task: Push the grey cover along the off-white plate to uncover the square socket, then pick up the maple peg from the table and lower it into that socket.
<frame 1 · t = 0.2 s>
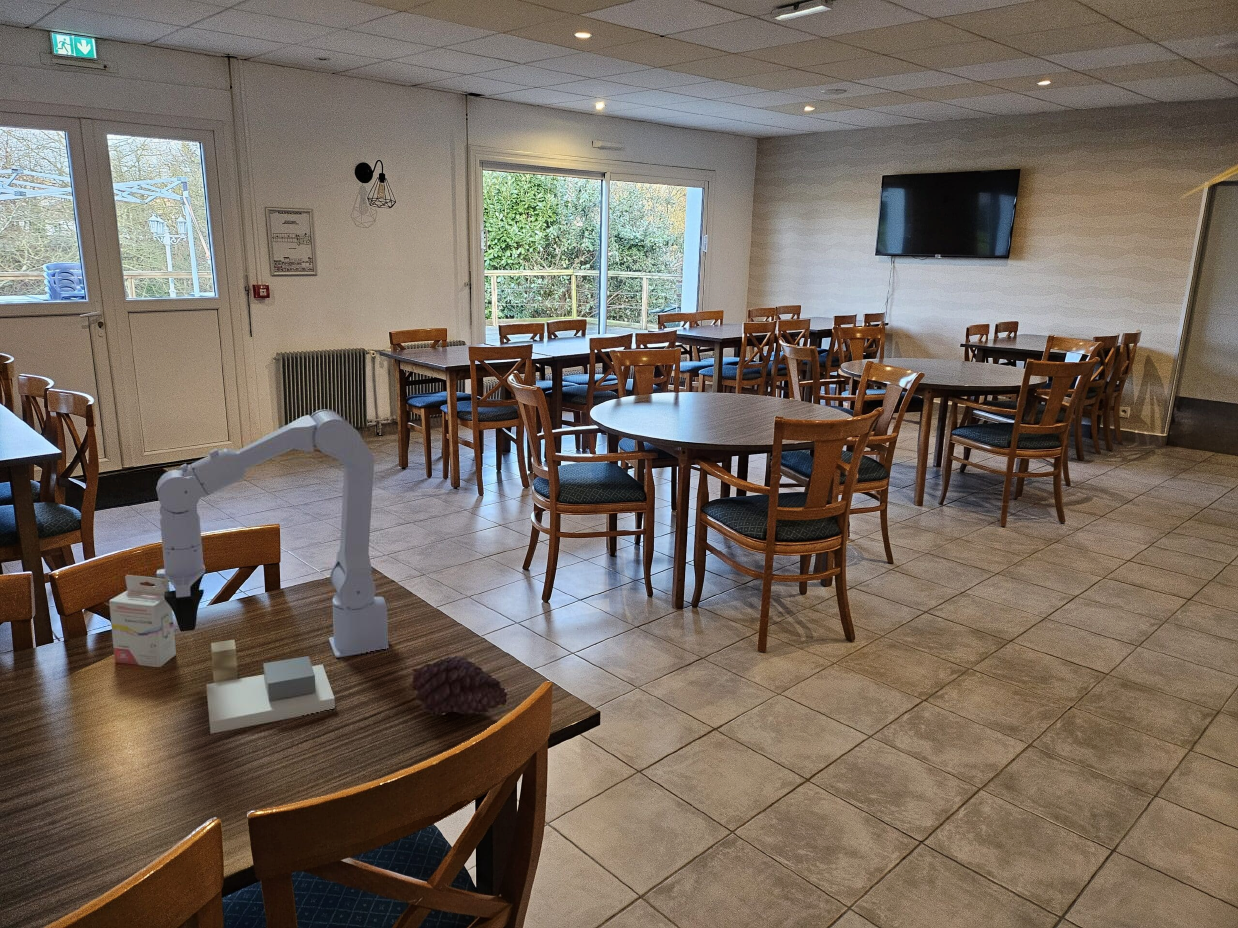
hand: (188, 620, 140), 10 cm above the table, tool pointing down, fingers open, 7 cm apart
pine cone: (454, 716, 135), on the table
socket plate: (270, 702, 136), on the table
maple peg: (225, 678, 142), on the table
ink cartridge box: (146, 660, 147), on the table
grey cover: (289, 677, 136), point 4 cm above the table, slide at 0.0 cm
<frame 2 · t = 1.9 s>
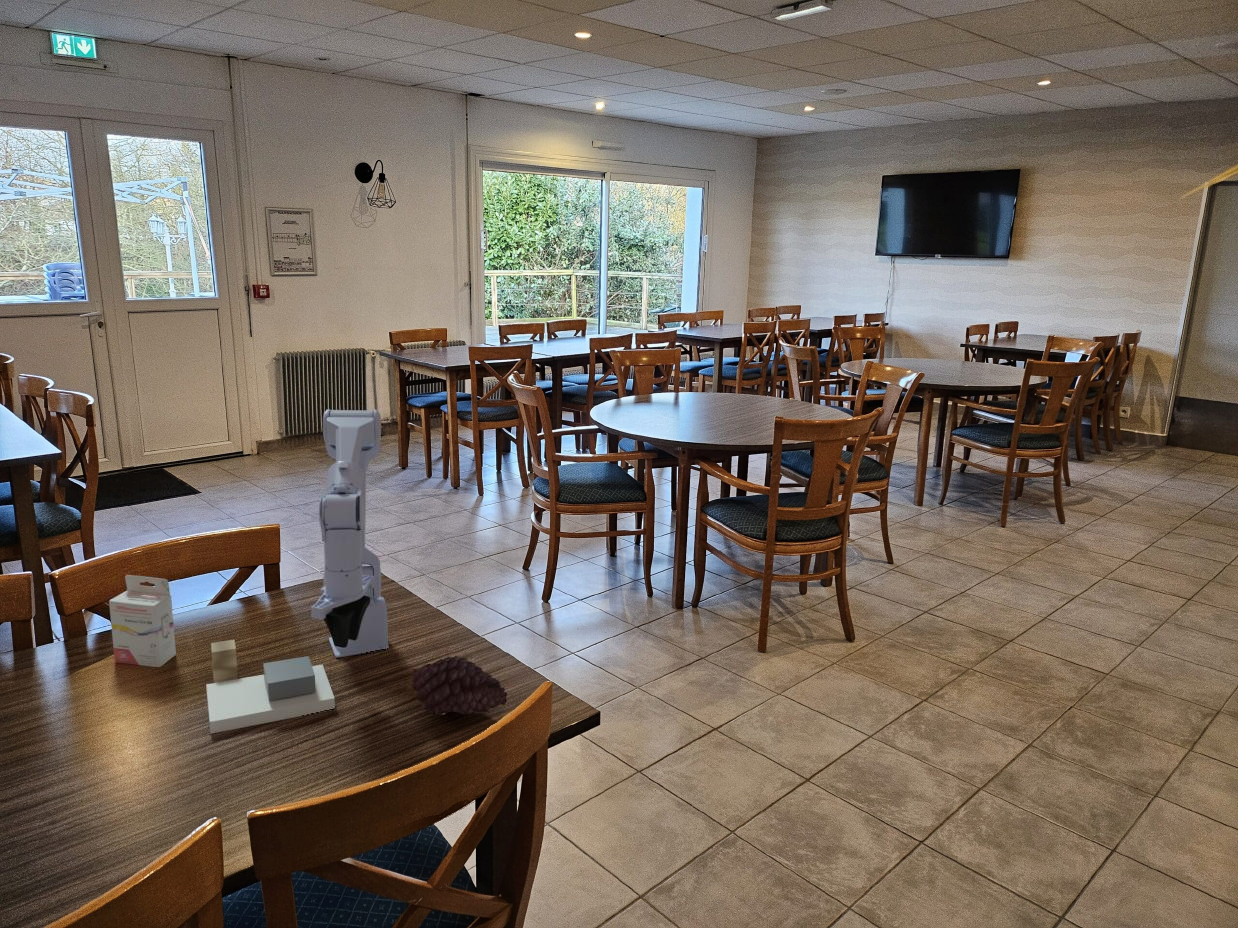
hand: (345, 642, 139), 8 cm above the table, tool pointing down, fingers closed
nothing on the table moved.
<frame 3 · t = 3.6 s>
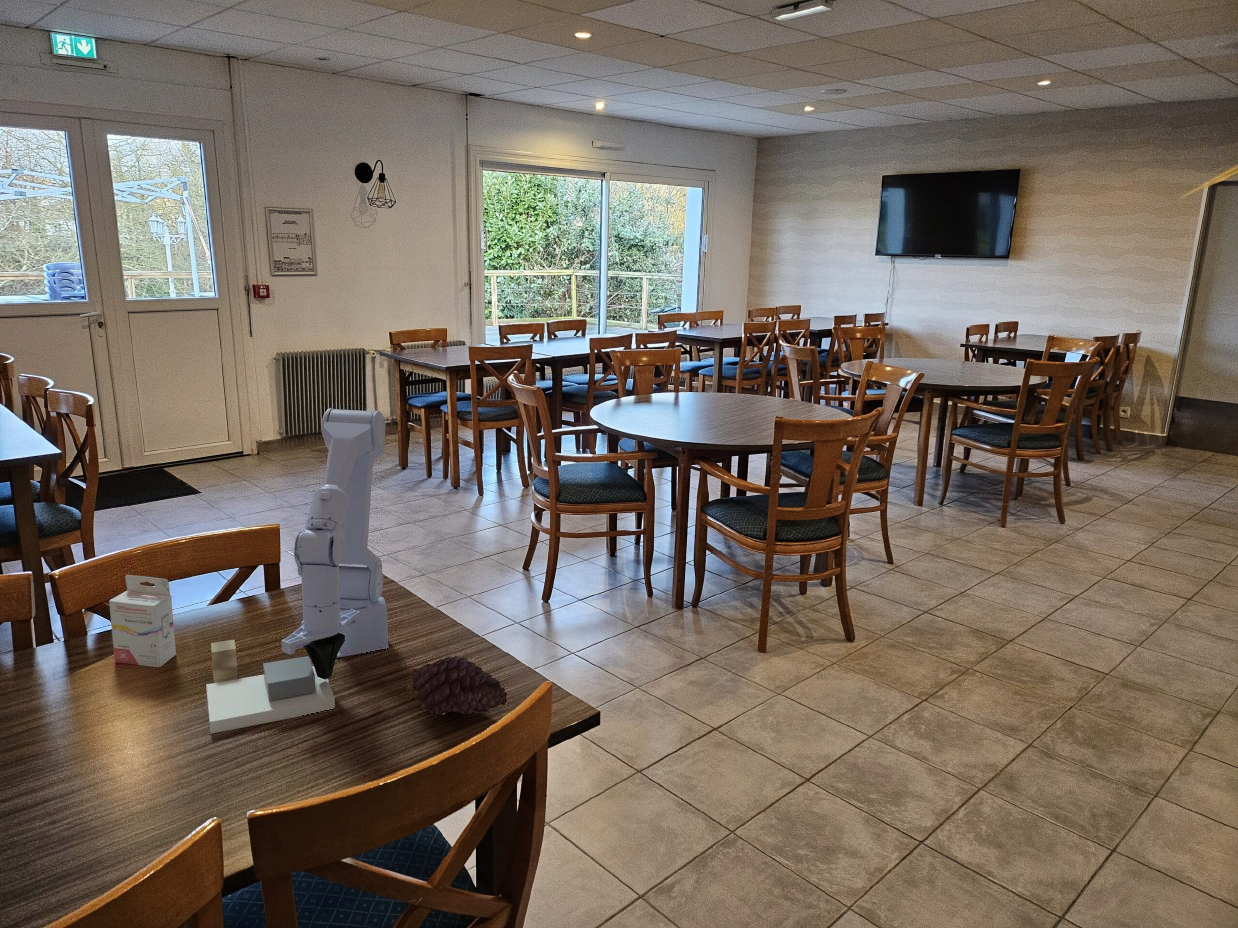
hand: (324, 676, 139), 3 cm above the table, tool pointing down, fingers closed
grey cover: (289, 677, 136), point 4 cm above the table, slide at 0.0 cm, touching gripper
everything else where it was.
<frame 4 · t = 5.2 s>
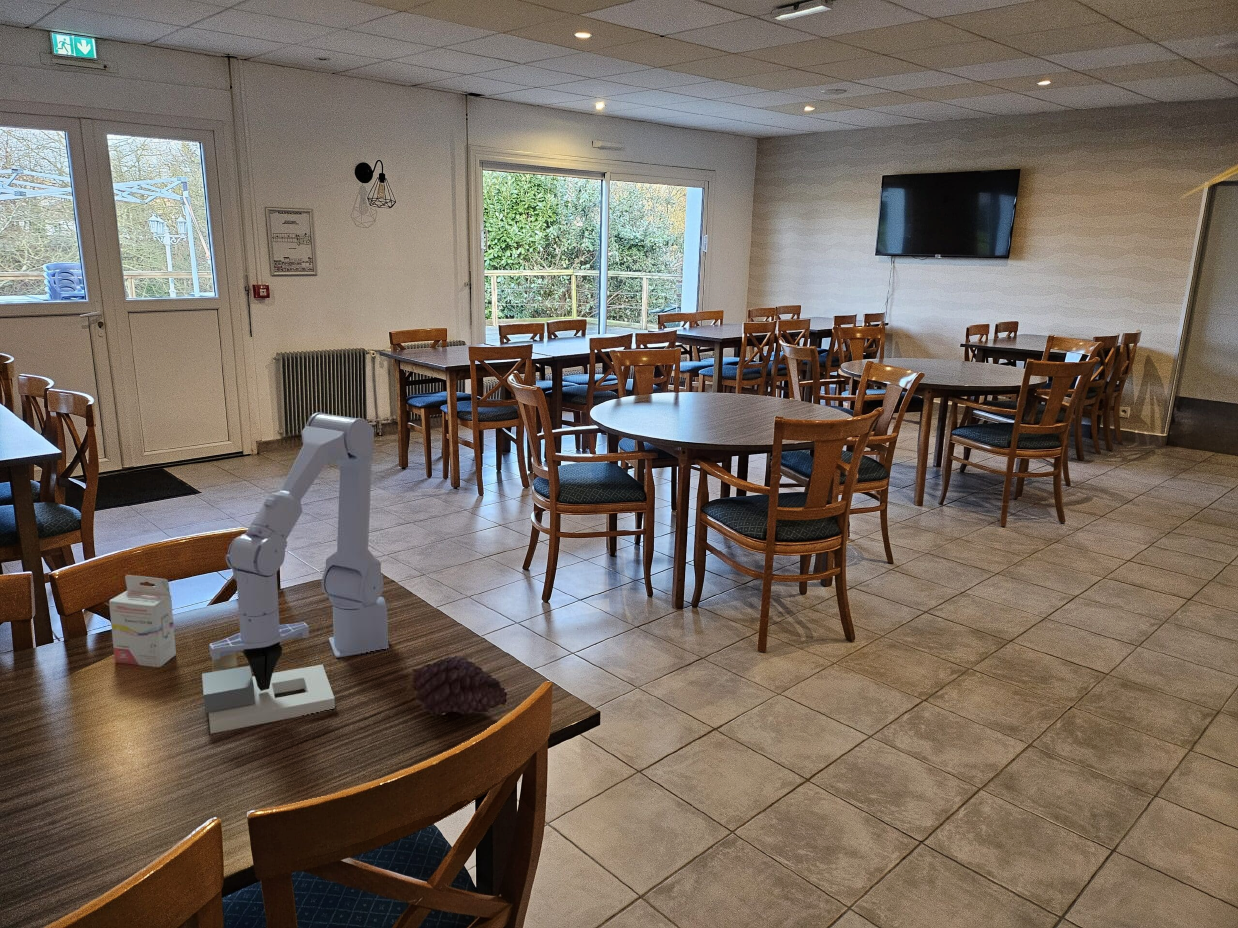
hand: (263, 687, 135), 3 cm above the table, tool pointing down, fingers closed
grey cover: (228, 688, 132), point 4 cm above the table, slide at 9.0 cm, touching gripper
everything else where it was.
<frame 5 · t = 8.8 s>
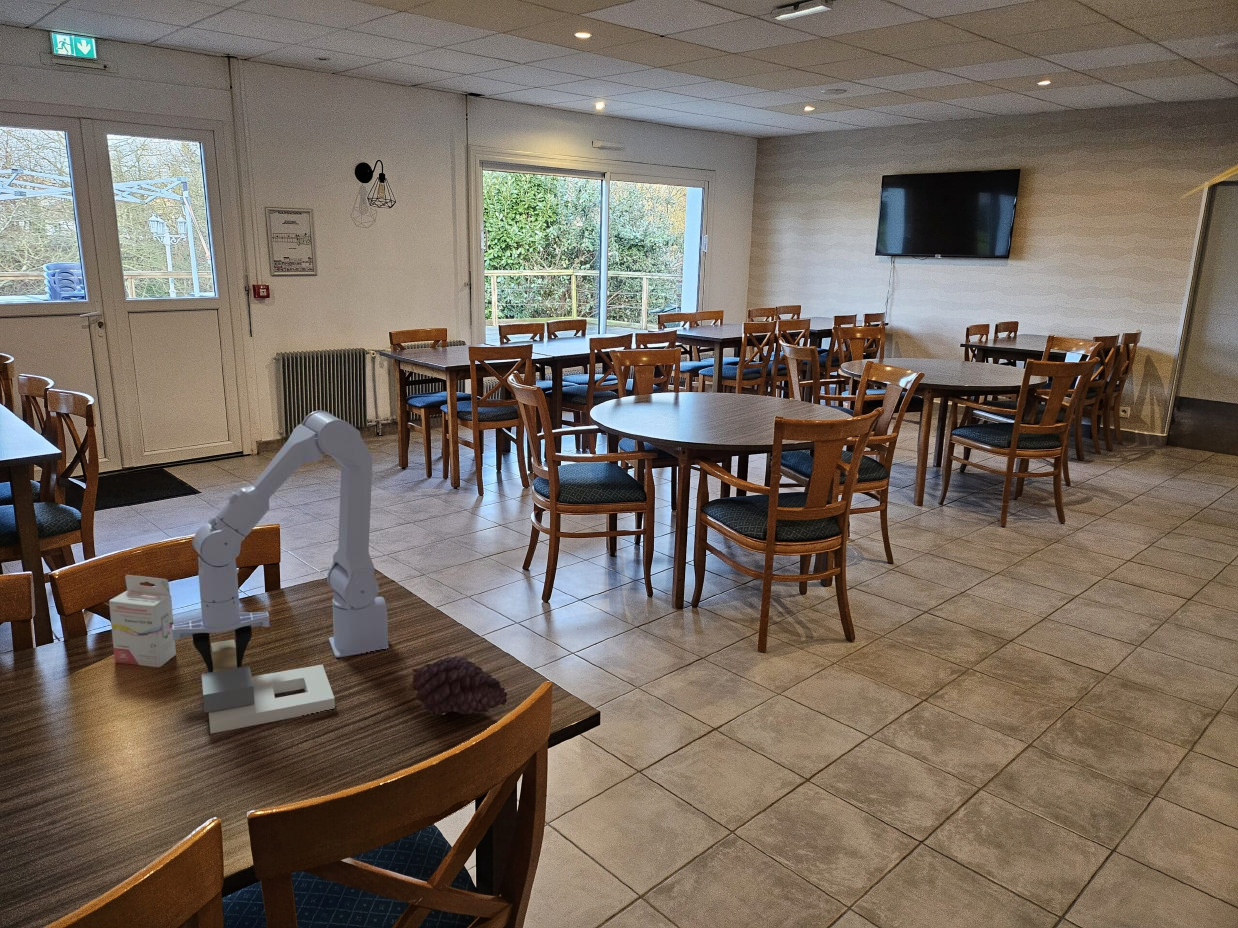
hand: (225, 670, 142), 1 cm above the table, tool pointing down, fingers closed on maple peg, 4 cm apart
maple peg: (225, 677, 142), on the table, touching gripper
grey cover: (227, 688, 132), point 4 cm above the table, slide at 9.1 cm
everything else where it was.
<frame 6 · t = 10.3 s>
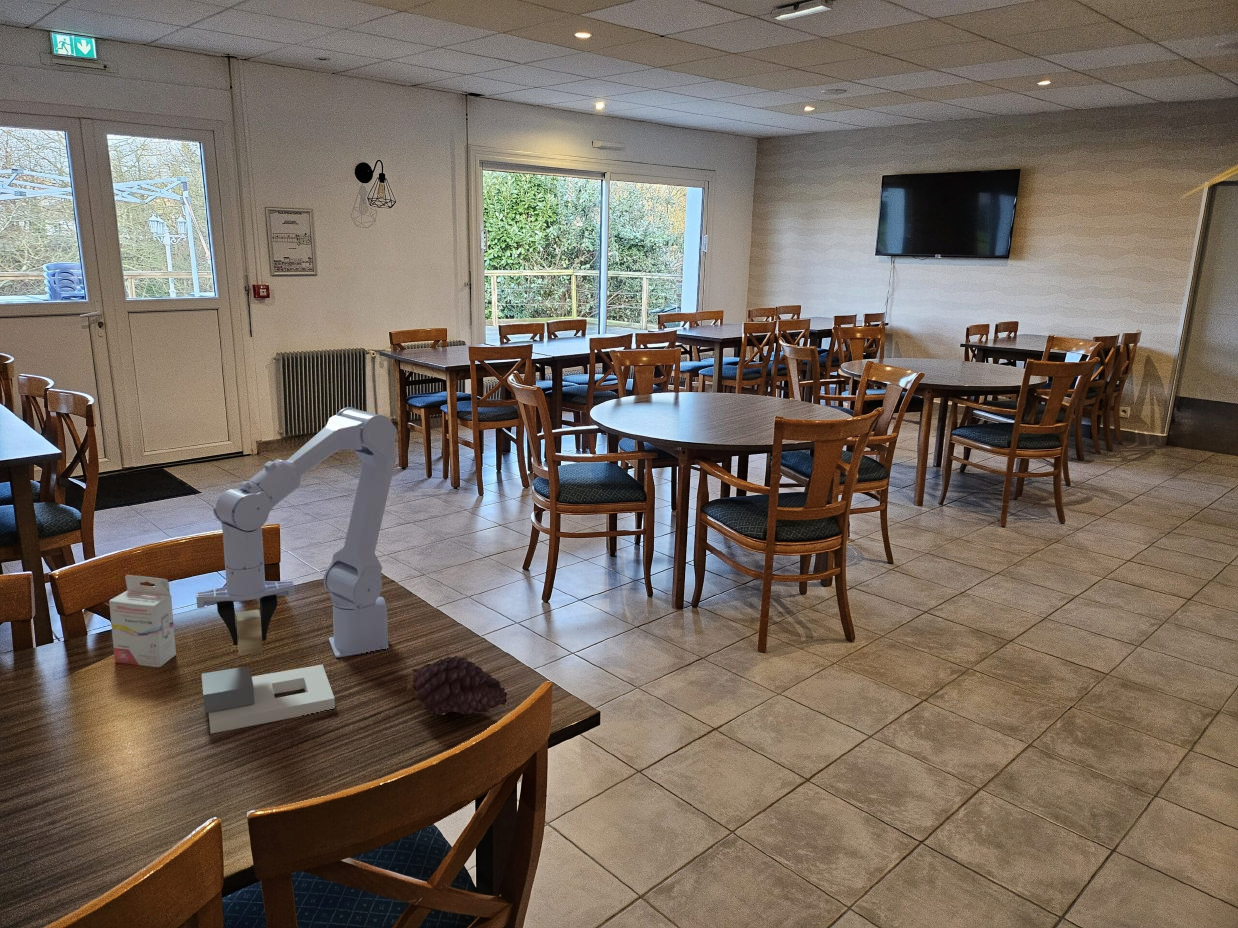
hand: (249, 640, 138), 8 cm above the table, tool pointing down, fingers closed on maple peg, 4 cm apart
maple peg: (250, 648, 138), point 7 cm above the table, touching gripper
everything else where it was.
when the fingers open (3 cm above the table, at t = 12.2 s): maple peg drops 1 cm, resting in socket plate.
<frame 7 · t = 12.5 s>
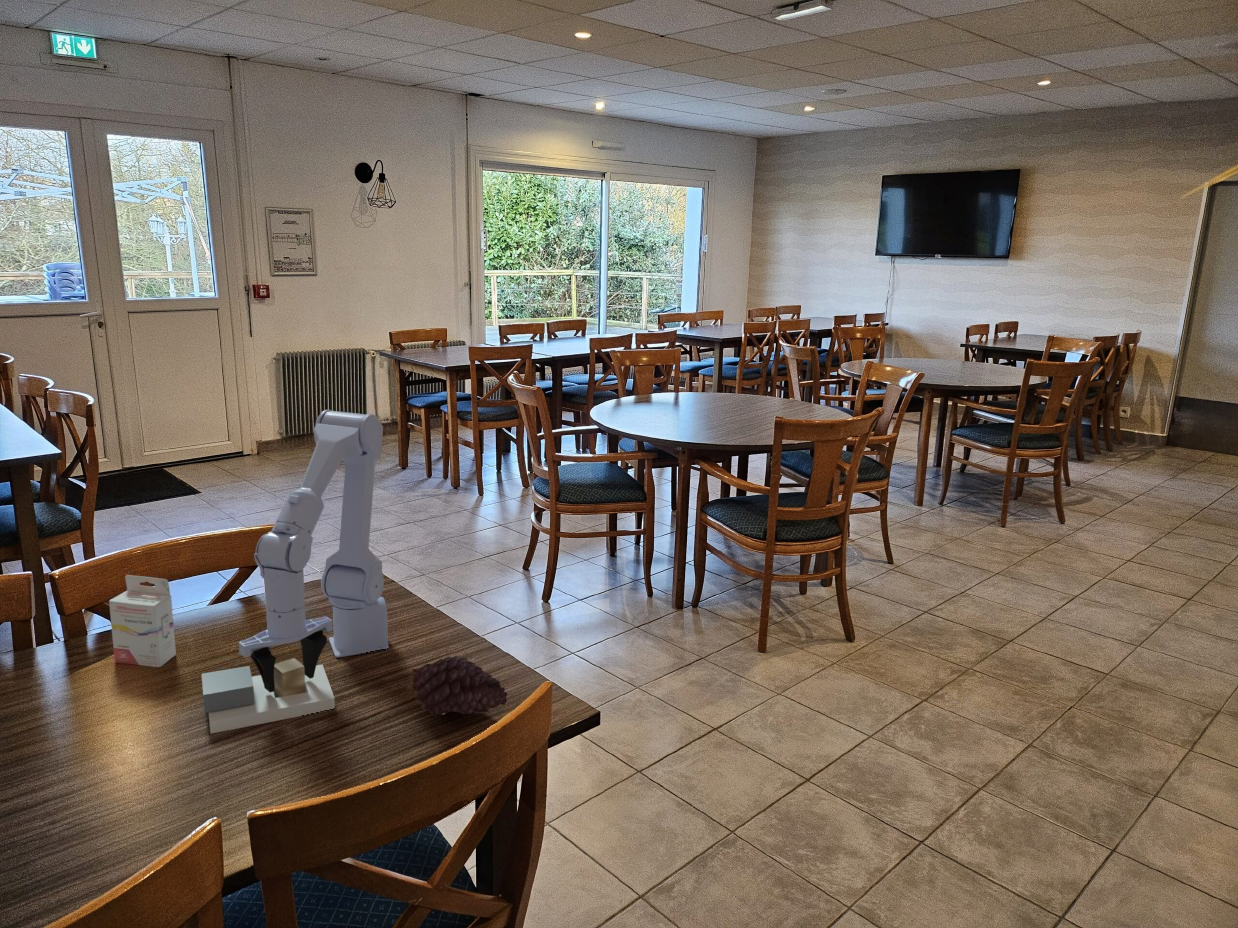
hand: (289, 682, 136), 3 cm above the table, tool pointing down, fingers open, 6 cm apart
maple peg: (290, 698, 137), resting in socket plate
everything else where it was.
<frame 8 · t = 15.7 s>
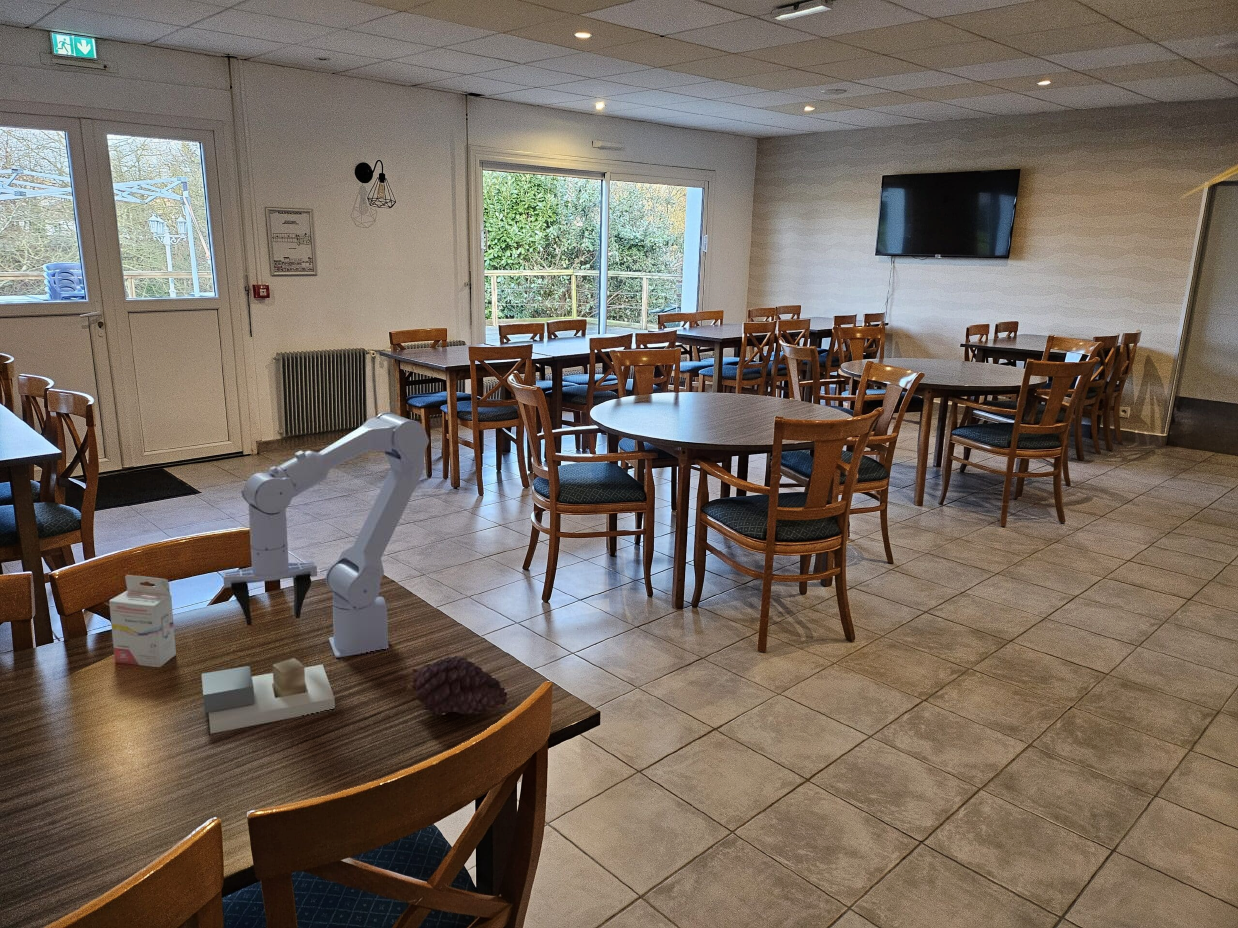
hand: (273, 619, 144), 9 cm above the table, tool pointing down, fingers open, 7 cm apart
nothing on the table moved.
at the end: grey cover slide at 9.1 cm; maple peg 0.1 cm from the target spot on the socket plate, point 0.0 cm above the socket plate's base; maple peg tilted 0° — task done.
